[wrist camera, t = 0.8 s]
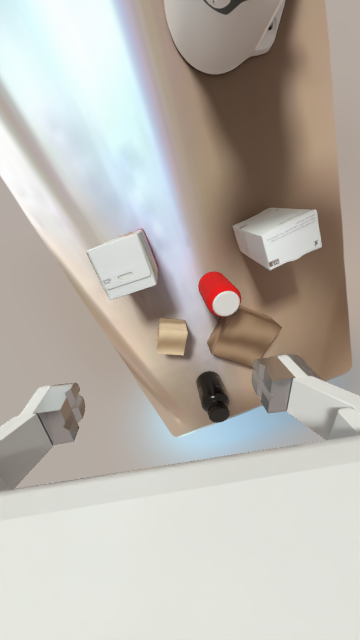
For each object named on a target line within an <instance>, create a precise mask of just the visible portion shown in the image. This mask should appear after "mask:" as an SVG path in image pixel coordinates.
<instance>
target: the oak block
mask: <svg viewBox="0 0 360 640" xmlns="http://www.w3.org/2000/svg"><path fill="white" fill-rule="evenodd" d="M187 334H188V331H187V327H186V323H185V320H179V319H169V318H160V319H159V327H158V335H157V353H158V354H171V355H184V350H185V344H186V339H187Z"/></svg>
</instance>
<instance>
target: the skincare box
mask: <svg viewBox="0 0 360 640" xmlns="http://www.w3.org/2000/svg"><path fill="white" fill-rule="evenodd" d="M232 227H233V230H234V233H235V236H236V239H237V243H238V246H239V249H240V252H242V253H243V254H245V255H246V256H248V257H249V258H251V259H253V260H254V261H256V262H257V263H259V264H261V265H262V266H264V267H265V268H267V269H268V270H272V269H274V268H276V267H278V266H281V265H283V264H285V263H287V262H289V261H294V260H297V259H298V258H300V257H301V256H302V255H304V254H307V253H309V252H311V251H314V250H317V249H319V248H321V247H322V243H321V236H320V230H319V224H318V215H317V210H308V209H290V208H271V207H270V208H267V209H266V210H264V211H262V212H261V213H259V214H257V215H255V216H253V217H251V218H249V219H247V220H245V221H242V222H240V223H238V224H235V225H233V226H232Z"/></svg>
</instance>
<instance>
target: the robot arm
mask: <svg viewBox="0 0 360 640" xmlns="http://www.w3.org/2000/svg"><path fill="white" fill-rule="evenodd" d="M285 1H286V0H164V6H165V13H166V19H167V23H168V27H169V30H170V33H171V36H172V38H173V41H174V43H175V45H176V47H177V49H178V50H179V52H180V53H181V55H182V56H183V57H184V58H185V60H186V61H187V62H188V63H189V64H191V65H192V66H193V67H194V68H196V69H197V70H199V71H202V72H204V73H208V74H222V73H226V72H229V71H231V70H233V69H234V68H236V67H237V66H239V65H240V64H241V63H242V62H243V61H245V60H246V59H247V58H249V57H251V56H257V55H261V54H264V53H266V52H268V51H269V50H270V48H271V46H272V44H273V42H274V40H275V37H276V33H277V29H278V26H279V22H280V19H281V15H282V12H283V8H284V4H285ZM269 26H270V27H271V30H268V28H269ZM253 368H254V369H255V371H254V372H253V374H252V384H253V387H254V390H255V392H256V394H257V395H259V396H261V402H262V404H263V406H264V407H265V409H266V411H267V412H268V413H274V412H283V411H287V412H288V413H289V414H290V415H292V416H293V417H295V418H296V419H298V420H299V421H300V422H302V423H303V424H305V425H306V426H307V427H309V428H310V429H311V430H313V431H314V432H316V433H317V434H318V435H320V436H321V437H323V438H324V439H326V440H325V441H318V442H312V443H305V444H300V445H293V446H286V447H280V448H273V449H267V450H261V451H254V452H248V453H242V454H235V455H228V456H222V457H216V458H210V459H203V460H197V461H190V462H184V463H177V464H171V465H165V466H158V467H152V468H145V469H139V470H133V471H127V472H120V473H113V474H107V475H101V476H94V477H87V478H81V479H75V480H69V481H62V482H55V483H49V484H43V485H36V486H30V487H24V488H17V489H14V488H15V487H16V486H17V485H18V484H19V483H20V482H21V481H22V480H23V478H24V477H25V476H26V475H27V474H28V473H29V472H30V471H31V470H32V469H33V468H34V467H35V465H36V464H37V463H38V462H39V461H40V460H41V459H42V458H43V457H44V455H45V454H46V453H47V452H48V451H49V450H50V449H51V448H52V447H53V445H57V444H63V443H68V442H74V440H75V437H76V435H77V432H78V429H79V426H78V422H79V421H80V420H81V419H82V418H83V415H84V412H85V402H84V399H83V397H82V396H81V395H79V394H78V393H79V391H80V388H79V386H78V384H77V383H68V384H59V385H51V386H42V387H40V388H38V389H37V391H36V392H35V394H34V395H33V397H32V398H31V399H30V401H29V402H28V404H27V405H26V407H25V408H24V409H23V411H22V412H21V414H20V415H19V416H16V417H14V418H12V419H11V420H9V421H8V422H7V423H5V424H4V425H2V426H1V427H0V640H360V396H358V395H356V394H353V393H351V392H349V391H346V390H344V389H341V388H339V387H337V386H334V385H332V384H330V383H327V382H325V381H322V380H320V379H318V378H315V377H313V376H307V375H306V374H305V373H304V372H303V371H302V370H301V369H300V368H299V367H298V366H297V364H296V363H295V362H294V361H293V360H292V359H291V358H290V357H289V356H287V355H280V356H275V357H269V358H261V359H254V361H253Z"/></svg>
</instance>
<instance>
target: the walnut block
mask: <svg viewBox="0 0 360 640" xmlns="http://www.w3.org/2000/svg"><path fill="white" fill-rule="evenodd" d="M281 328H282V327H281V326H280V325H279V324H278V323H276V322H275V321H274V320H273V319H272V318H270V317H268V316H265V315H263V314H260V313H258V312H256V311H253V310H251V309H248V308H246V307H243V306H241V305H240V306H239V308H238V309H237V311H236V312H235V313H233V314H232V315H230V316H225V317H221V318H220V320H219V322H218V324H217V325H216V327H215V329H214V331H213V333H212V334H211V336H210V338H209V340H208V341H207V344H208V346H209V349H210V352H211V354H214V355H217V356H220V357H223V358H226V359H229V360H232V361H235V362H238V363H241V364H244V365H247V366H250V367H253V361H254V359H260V358H261V357H262V355H263V354H264V352H265V351H266V350H267V348H268V347H269V345H270V344H271V342H272V341H273V340H274V338H275V337H276V335H277V334H278V333H279V331H280V330H281Z"/></svg>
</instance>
